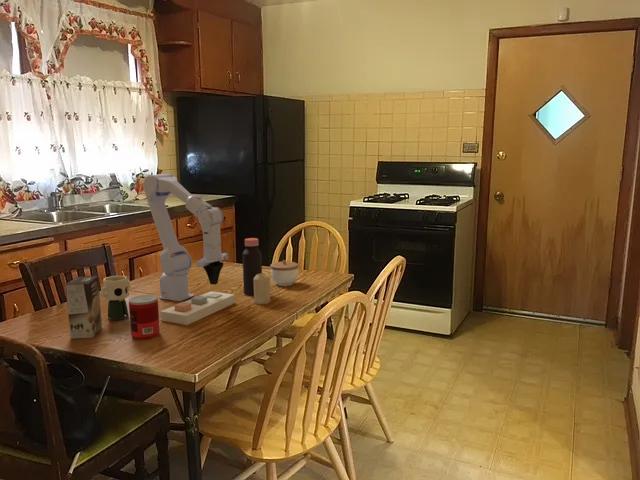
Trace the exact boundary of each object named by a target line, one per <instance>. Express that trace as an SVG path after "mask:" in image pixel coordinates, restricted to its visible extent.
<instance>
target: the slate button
mask: <svg viewBox="0 0 640 480" xmlns="http://www.w3.org/2000/svg"><path fill="white" fill-rule="evenodd" d="M190 298H191V304H196V305H202V304H205V303H207V297H205V296H200V295H195V296H192V297H190Z"/></svg>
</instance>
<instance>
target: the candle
mask: <svg viewBox="0 0 640 480" xmlns="http://www.w3.org/2000/svg"><path fill="white" fill-rule="evenodd" d="M253 301H254V303H255V304H256V305H267V304H270V303H271V278H270V276H268V275H267V274H266V273H265V272H262V273H260V274H257V275H256V276H255V277H254V295H253Z"/></svg>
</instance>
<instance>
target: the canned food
mask: <svg viewBox="0 0 640 480" xmlns="http://www.w3.org/2000/svg"><path fill="white" fill-rule="evenodd" d="M159 311H160V310H159V300H158V296H157V295H153V294H142V295H136V296H133V297H131V298H129V299H128V313H129V323H130V325H129V326H130V333H131V338H132V339H134V340H140V341H142V340H143V341H144V340H151V339H153V338H156V337H158V336H159V335H160V331H161V330H160V316H159V315H160V313H159Z"/></svg>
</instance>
